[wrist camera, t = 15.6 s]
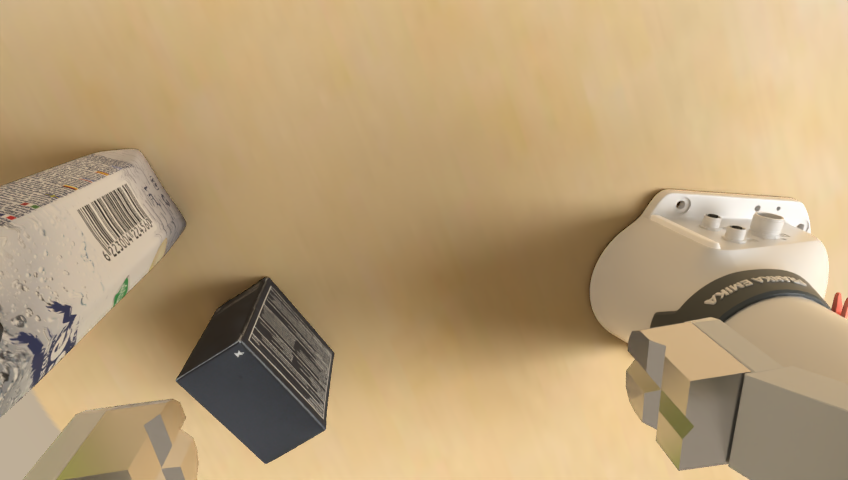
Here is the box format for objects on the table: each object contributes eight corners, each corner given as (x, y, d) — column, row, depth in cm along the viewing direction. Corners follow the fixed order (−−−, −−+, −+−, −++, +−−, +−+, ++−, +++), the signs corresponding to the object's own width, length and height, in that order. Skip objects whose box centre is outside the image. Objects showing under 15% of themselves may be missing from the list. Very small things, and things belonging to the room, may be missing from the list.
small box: (210, 310, 45) (167, 382, 35) (268, 273, 44) (240, 335, 34) (283, 386, 48) (262, 469, 39) (337, 353, 48) (329, 429, 38)
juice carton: (27, 183, 39) (-587, 418, 14) (145, 131, 38) (-267, 275, 13) (96, 274, 42) (-297, 597, 17) (205, 227, 42) (-35, 487, 17)
